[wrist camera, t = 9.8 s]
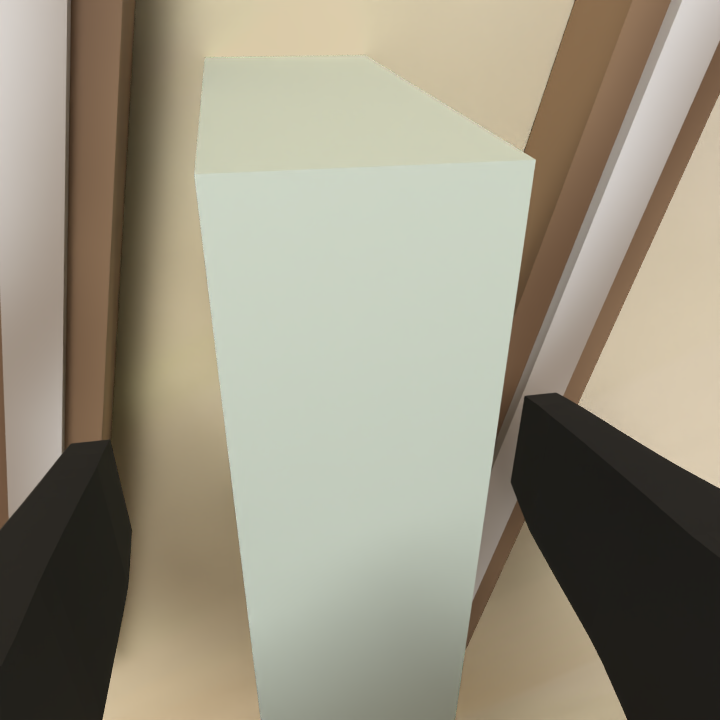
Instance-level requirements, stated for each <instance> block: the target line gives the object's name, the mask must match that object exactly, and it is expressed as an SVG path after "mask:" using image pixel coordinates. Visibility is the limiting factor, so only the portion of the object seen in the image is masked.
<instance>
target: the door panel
mask: <svg viewBox="0 0 720 720" xmlns="http://www.w3.org/2000/svg"><path fill="white" fill-rule="evenodd" d="M535 163H536V160H535V159H534V158H532V157H531V156H529V155H527V154H526V153H524V152H522V151H521V150H519V149H517V148H516V147H514V146H513V145H511V144H509V143H508V142H506V141H504V140H503V139H501V138H500V137H498V136H496V135H495V134H493V133H491V132H490V131H488V130H487V129H485V128H483V127H482V126H480V125H478V124H477V123H475V122H474V121H472V120H470V119H469V118H467V117H465V116H464V115H462V114H460V113H459V112H457V111H456V110H454V109H452V108H451V107H449V106H447V105H446V104H444V103H443V102H441V101H439V100H438V99H436V98H434V97H433V96H431V95H430V94H428V93H426V92H425V91H423V90H421V89H420V88H418V87H416V86H415V85H413V84H412V83H410V82H408V81H407V80H405V79H403V78H402V77H400V76H399V75H397V74H395V73H394V72H392V71H390V70H389V69H387V68H386V67H384V66H382V65H381V64H379V63H377V62H376V61H374V60H372V59H371V58H369V57H368V56H366V55H326V56H254V57H205V60H204V71H203V82H202V94H201V105H200V116H199V127H198V138H197V149H196V160H195V171H194V177H195V185H196V193H197V202H198V210H199V218H200V226H201V234H202V243H203V251H204V259H205V267H206V275H207V284H208V292H209V300H210V308H211V316H212V325H213V333H214V341H215V349H216V357H217V366H218V374H219V382H220V390H221V398H222V407H223V415H224V423H225V431H226V439H227V448H228V456H229V464H230V472H231V480H232V489H233V497H234V505H235V513H236V521H237V530H238V538H239V546H240V554H241V562H242V571H243V579H244V587H245V595H246V603H247V612H248V620H249V628H250V636H251V644H252V653H253V661H254V669H255V677H256V685H257V694H258V702H259V710H260V718H261V720H455V717H456V710H457V703H458V696H459V689H460V682H461V675H462V669H463V662H464V655H465V648H466V641H467V634H468V627H469V620H470V613H471V606H472V599H473V592H474V585H475V578H476V571H477V565H478V558H479V551H480V544H481V537H482V530H483V523H484V516H485V509H486V502H487V495H488V488H489V481H490V474H491V467H492V461H493V454H494V447H495V440H496V433H497V426H498V419H499V412H500V405H501V398H502V391H503V384H504V377H505V370H506V364H507V357H508V350H509V343H510V336H511V329H512V322H513V315H514V308H515V301H516V294H517V287H518V280H519V273H520V266H521V260H522V253H523V246H524V239H525V232H526V225H527V218H528V211H529V204H530V197H531V190H532V183H533V176H534V169H535Z"/></svg>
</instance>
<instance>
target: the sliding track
mask: <svg viewBox="0 0 720 720" xmlns="http://www.w3.org/2000/svg"><path fill="white" fill-rule="evenodd" d="M135 3H136V0H0V529H1V528H2V526H3V525H4V524H5V523H6V522H7V521H8V519H9V518H10V517H11V516H12V515H13V514H14V512H15V511H16V510H17V509H18V508H19V506H20V505H21V504H22V503H23V502H24V500H25V499H26V498H27V497H28V495H29V494H30V493H31V492H32V491H33V489H34V488H35V487H36V486H37V484H38V483H39V482H40V481H41V479H42V478H43V477H44V476H45V474H46V473H47V472H48V471H49V469H50V468H51V467H52V466H53V464H54V463H55V462H56V461H57V459H58V458H59V457H60V456H61V454H62V453H63V452H64V451H65V450H66V448H67V447H68V446H69V445H70V444H71V443H80V442H90V441H99V440H109V439H110V441H111V432H112V414H113V396H114V378H115V361H116V343H117V325H118V307H119V289H120V271H121V253H122V236H123V218H124V200H125V182H126V164H127V146H128V128H129V111H130V93H131V75H132V57H133V39H134V21H135ZM719 94H720V0H575V3H574V6H573V9H572V12H571V15H570V18H569V21H568V24H567V27H566V30H565V33H564V36H563V39H562V42H561V44H560V47H559V50H558V53H557V56H556V59H555V62H554V65H553V68H552V71H551V74H550V77H549V80H548V83H547V86H546V89H545V92H544V95H543V98H542V101H541V104H540V107H539V110H538V113H537V116H536V119H535V122H534V125H533V128H532V130H531V133H530V136H529V139H528V142H527V145H526V148H525V151H524V153H526V154H527V155H529V156H531V157H532V158H534V159H535V160H536V163H535V169H534V176H533V183H532V190H531V197H530V204H529V211H528V218H527V225H526V232H525V239H524V246H523V253H522V260H521V266H520V273H519V280H518V287H517V294H516V301H515V308H514V315H513V322H512V329H511V336H510V343H509V350H508V357H507V364H506V370H505V377H504V384H503V391H502V398H501V405H500V412H499V419H498V426H497V433H496V440H495V447H494V454H493V461H492V467H491V474H490V481H489V488H488V495H487V502H486V509H485V516H484V523H483V530H482V537H481V544H480V551H479V558H478V565H477V571H476V578H475V585H474V592H473V599H472V606H471V613H470V620H469V627H468V634H467V641H466V648H467V646H468V643H469V641H470V639H471V637H472V635H473V632H474V630H475V628H476V626H477V624H478V622H479V619H480V617H481V615H482V613H483V611H484V608H485V606H486V604H487V602H488V600H489V597H490V595H491V593H492V591H493V589H494V587H495V584H496V582H497V580H498V578H499V576H500V573H501V571H502V569H503V567H504V565H505V562H506V560H507V558H508V556H509V554H510V551H511V549H512V547H513V545H514V543H515V541H516V538H517V536H518V534H519V532H520V530H521V527H522V525H523V523H524V521H525V518H524V516H523V513H522V511H521V509H520V506H519V503H518V501H517V498H516V495H515V493H514V490H513V487H512V485H511V475H512V469H513V463H514V457H515V451H516V445H517V439H518V433H519V426H520V420H521V414H522V408H523V402H524V396H527V395H537V394H546V393H558V394H560V395H562V396H564V397H565V398H567V399H569V400H571V401H572V402H574V403H576V404H577V405H578V403H579V400H580V398H581V396H582V394H583V392H584V389H585V387H586V385H587V383H588V381H589V378H590V376H591V374H592V372H593V370H594V367H595V365H596V363H597V361H598V359H599V357H600V354H601V352H602V350H603V348H604V346H605V343H606V341H607V339H608V337H609V335H610V332H611V330H612V328H613V326H614V324H615V322H616V319H617V317H618V315H619V313H620V311H621V308H622V306H623V304H624V302H625V300H626V297H627V295H628V293H629V291H630V289H631V286H632V284H633V282H634V280H635V278H636V276H637V273H638V271H639V269H640V267H641V265H642V262H643V260H644V258H645V256H646V254H647V251H648V249H649V247H650V245H651V243H652V240H653V238H654V236H655V234H656V232H657V230H658V227H659V225H660V223H661V221H662V219H663V216H664V214H665V212H666V210H667V208H668V205H669V203H670V201H671V199H672V197H673V194H674V192H675V190H676V188H677V186H678V184H679V181H680V179H681V177H682V175H683V173H684V170H685V168H686V166H687V164H688V162H689V159H690V157H691V155H692V153H693V151H694V148H695V146H696V144H697V142H698V140H699V138H700V135H701V133H702V131H703V129H704V127H705V124H706V122H707V120H708V118H709V116H710V113H711V111H712V109H713V107H714V105H715V102H716V100H717V98H718V96H719ZM466 648H465V650H466Z"/></svg>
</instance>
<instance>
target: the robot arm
mask: <svg viewBox="0 0 720 720" xmlns="http://www.w3.org/2000/svg"><path fill="white" fill-rule="evenodd" d="M511 485H512V487H513V490H514V493H515V495H516V498H517V501H518V503H519V506H520V509H521V511H522V513H523V516H524V518H525V521H526V523H527V526H528V528H529V530H530V532H531V534H532V536H533V538H534V540H535V541H536V543H537V545H538V547H539V549H540V550H541V552H542V554H543V556H544V558H545V559H546V561H547V563H548V565H549V567H550V568H551V570H552V572H553V574H554V576H555V577H556V579H557V581H558V583H559V584H560V586H561V588H562V590H563V591H564V593H565V595H566V597H567V598H568V600H569V602H570V604H571V605H572V607H573V609H574V611H575V613H576V614H577V616H578V618H579V620H580V621H581V623H582V625H583V627H584V628H585V630H586V632H587V634H588V635H589V637H590V639H591V641H592V643H593V645H594V647H595V649H596V651H597V653H598V655H599V657H600V659H601V661H602V663H603V665H604V667H605V670H606V672H607V674H608V677H609V679H610V681H611V683H612V686H613V688H614V690H615V692H616V695H617V697H618V699H619V701H620V704H621V706H622V708H623V711H624V713H625V715H626V718H627V720H720V488H718V487H716V486H714V485H712V484H710V483H708V482H707V481H705V480H703V479H701V478H699V477H697V476H696V475H694V474H692V473H690V472H688V471H686V470H685V469H683V468H681V467H679V466H678V465H676V464H674V463H672V462H671V461H669V460H667V459H665V458H664V457H662V456H660V455H659V454H657V453H655V452H654V451H652V450H650V449H649V448H647V447H645V446H644V445H642V444H640V443H639V442H637V441H635V440H634V439H632V438H631V437H629V436H627V435H626V434H624V433H623V432H621V431H619V430H618V429H616V428H615V427H613V426H611V425H610V424H608V423H607V422H605V421H603V420H602V419H600V418H599V417H597V416H595V415H594V414H592V413H591V412H589V411H587V410H586V409H584V408H582V407H581V406H579V405H577V404H576V403H574V402H572V401H571V400H569V399H567V398H565V397H564V396H562V395H560V394H558V393H546V394H537V395H527V396H524V402H523V408H522V414H521V420H520V426H519V433H518V439H517V445H516V451H515V457H514V463H513V469H512V475H511ZM131 536H132V529H131V525H130V520H129V516H128V512H127V508H126V504H125V500H124V495H123V491H122V487H121V483H120V479H119V475H118V471H117V466H116V462H115V458H114V454H113V450H112V446H111V441H110V439H109V440H99V441H90V442H80V443H71V444H70V445H69V446H68V447H67V448H66V450H65V451H64V452H63V453H62V454H61V456H60V457H59V458H58V459H57V461H56V462H55V463H54V464H53V466H52V467H51V468H50V469H49V471H48V472H47V473H46V474H45V476H44V477H43V478H42V479H41V481H40V482H39V483H38V484H37V486H36V487H35V488H34V489H33V491H32V492H31V493H30V494H29V495H28V497H27V498H26V499H25V500H24V502H23V503H22V504H21V505H20V506H19V508H18V509H17V510H16V511H15V512H14V514H13V515H12V516H11V517H10V518H9V519H8V521H7V522H6V523H5V524H4V525H3V526H2V528H1V529H0V720H102V719H103V714H104V709H105V704H106V699H107V693H108V688H109V683H110V678H111V673H112V668H113V663H114V658H115V653H116V648H117V643H118V638H119V632H120V627H121V622H122V617H123V611H124V606H125V601H126V595H127V590H128V582H129V568H130V553H131Z"/></svg>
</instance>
